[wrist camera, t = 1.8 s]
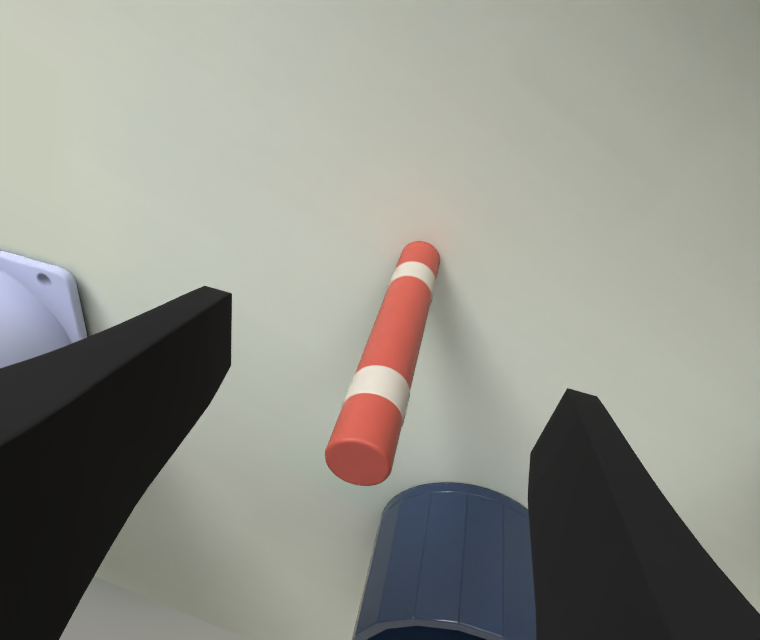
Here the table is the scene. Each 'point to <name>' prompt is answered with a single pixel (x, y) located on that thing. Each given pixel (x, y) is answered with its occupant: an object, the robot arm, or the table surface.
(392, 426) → the baton
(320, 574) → the table surface
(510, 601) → the cup
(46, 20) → the table surface
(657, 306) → the table surface
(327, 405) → the table surface
